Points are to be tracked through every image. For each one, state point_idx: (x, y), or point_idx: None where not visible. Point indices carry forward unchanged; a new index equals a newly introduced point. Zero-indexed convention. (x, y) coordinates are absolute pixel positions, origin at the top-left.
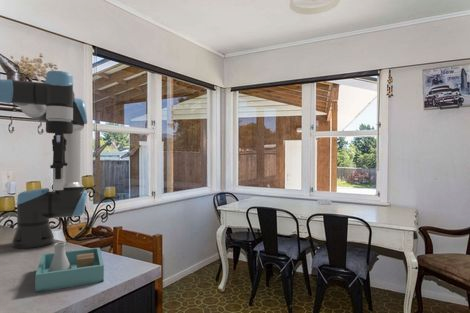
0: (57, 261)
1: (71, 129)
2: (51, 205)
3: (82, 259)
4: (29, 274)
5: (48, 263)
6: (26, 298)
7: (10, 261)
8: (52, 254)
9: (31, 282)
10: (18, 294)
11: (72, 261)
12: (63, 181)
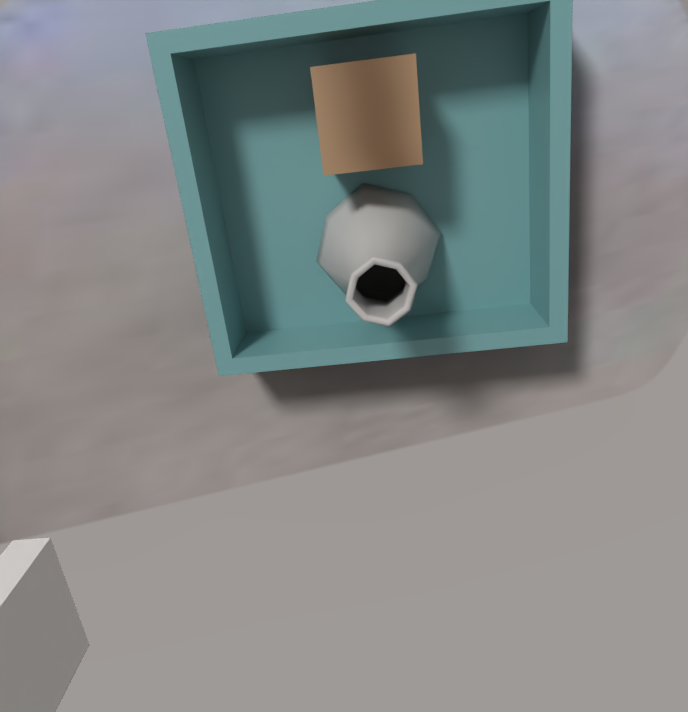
0: (415, 272)
1: None
2: None
3: (420, 129)
4: (300, 384)
5: (240, 327)
6: (593, 334)
7: (91, 501)
8: (226, 324)
9: None
10: (534, 373)
11: (218, 207)
12: (19, 610)
